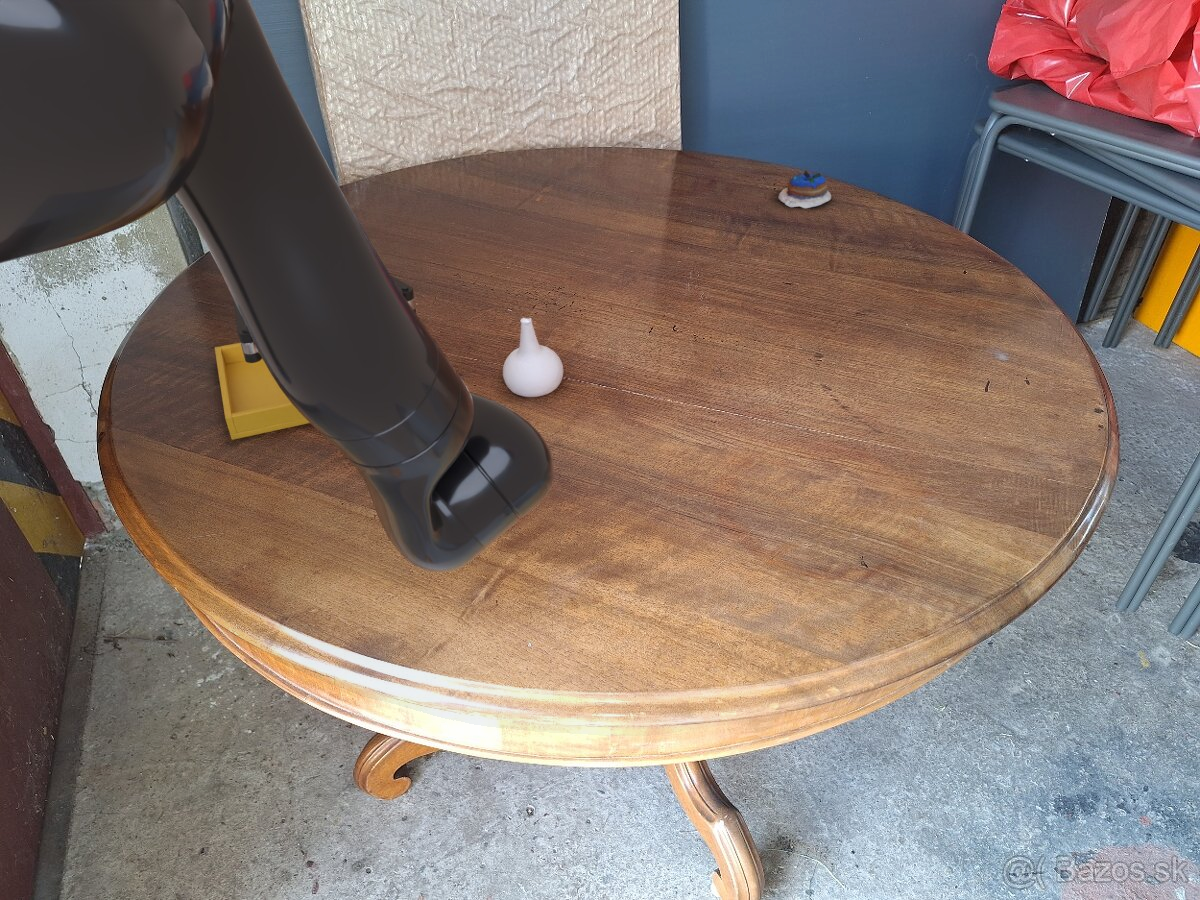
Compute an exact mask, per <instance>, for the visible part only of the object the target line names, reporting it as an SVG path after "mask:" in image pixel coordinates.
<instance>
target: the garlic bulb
mask: <svg viewBox="0 0 1200 900" xmlns="http://www.w3.org/2000/svg"><path fill="white" fill-rule="evenodd" d="M532 319H533V318H531V317H529V318H526V317H522V318H520V320H519V321H520V335H519V347H517V348H516V349H514V350H512V351H511V352H510V354H508V355H507V357H506V358H505V360H504V362H503V367H502V377H503V381H504V383H505V386H506V387H507V388H508V389H509V390H510V391H511V392H512V393H513V394H514V395H517V396H520V397H525V398H538V397H542V396H546V395H548V394H550V393H553V392H554V391H555V390H556V389H557V388H558V387H559V386H560V384H561V382H562V380H563V378H564V366H563V362H562V360H561V358H560V357H559V355H558V354H557V352H555V351H554V350H552V348H550V347H548V346H546V345H542V344H540V343H539V341H538V338H537V335H536V331H535V328H534V325H533V322H532V321H533V320H532Z"/></svg>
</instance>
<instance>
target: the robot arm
mask: <svg viewBox="0 0 1200 900" xmlns="http://www.w3.org/2000/svg"><path fill="white" fill-rule="evenodd" d="M289 87H290V86H289V85H288V83H287V81H286V79H285V76H284V74H283V73H282V70H281V68H280V65H279V63H278V62H277V59H276V57H275V54H274V52H273V50H272V48H271V45H270V43H269V40H268V38H267V36H266V34H265V32H264V30H263V27H262V25H261V23H260V21H259V18H258V17H257V13H256V11H255V8H254V7H253V5H252V2H251V0H0V264H3V263H7V262H10V261H15V260H18V259H22V258H27V257H30V256H35V255H37V254H42V253H47V252H49V251H53V250H57V249H61V248H64V247H67V246H71V245H73V244H78V243H80V242H84V241H87V240H90V239H94V238H97V237H100V236H103V235H105V234H109V233H110V232H114V231H116V230H119V229H122V228H124V227H126V226H129V225H130V224H133V223H135V222H137V221H139V220H140V219H142V218H144V217H145V216H147V215H149V214H151V213H152V212H154V211H156V209H158V208H160V207H162V206H163V205H165V204H166V203H167V202H168V201H170V199H172V198H173V197H174V196H175V197H176V198H177V199H178V201H179V202H180V204H181V205H182V207H183V209H184V210H185V212H186V213H187V215H188V217H189V218H190V220H191V222H192V224H193V225H194V226H195V228H196V229H197V231H198V233H199V234H200V236H201V238H202V240H203V242H204V243H205V245H206V247H207V249H208V251H209V253H210V254H211V257H212V258H213V260H214V262H215V263H216V266H217V268H218V270H219V271H220V274H221V276H222V278H223V280H224V282H225V284H226V286H227V289H228V291H229V293H230V295H231V297H232V300H233V301H234V302H233V309H234V310H233V311H234V316H235V324H236V331H237V336H238V339H239V343H241V347H242V350H243V354H244V358H245V361H246V362H247V363H256V362H258V361H260V360H261V359H263V361H264V362H265V364H266V366H267V368H268V369H269V371H270V373H271V374H272V376H273V378H274V379H275V381H276V382H277V384H278V386H279V387H280V389H281V390H282V391H283V393H284V394H285V395H286V397H287V398H288V399H289V401H290V402H291V403H292V404H293V405H294V407H295V408H296V409H297V410H298V411H299V412H300V413H301V414H302V415H303V416H304V417H305V418H306V419H307V420H308V421H309V422H310V423H309V424H310V425H311V426H313V428H314V429H316V430H317V431H318V433H319V434H320V435H322V436H323V437H324V438H325V439H326V440H327V441H328V442H329V443H330V444H331V445H332V446H333V447H334V448H336V450H338V452H339V453H341V454H342V456H344V457H345V458H346V459H347V460H348V462H350V463H351V465H352V466H353V467H354V468H355V469H356V470H357V472H358V473H359V475H360V476H361V478H362V479H363V481H364V484H365V485H366V487H367V490H368V492H369V496H370V499H371V501H372V504H373V507H374V509H375V512H376V515H377V518H378V520H379V522H380V524H381V526H382V528H383V529H384V532H385V533H386V536H387V537H388V539H389V541H390V542H391V544H392V545H393V547H394V548H395V549H396V550H397V552H398V553H399V554H400V555H401V556H402V557H403V558H404V559H405V560H406V561H407V562H408V563H410V564H411V565H413V566H415V567H416V568H419V569H420V570H423V571H427V572H431V573H450V572H453V571H457V570H458V569H461V568H463V567H465V566H466V565H467V564H469V563H471V562H472V561H473V560H474V559H476V557H478V556H479V555H480V554H481V553H483V552H484V551H485V550H486V549H487V548H488V547H490V546H491V545H492V544H493V543H495V542H496V541H497V540H498V539H499V538H501V537H502V536H503V535H504V534H505V533H506V532H507V531H509V530H510V529H511V528H513V527H514V526H515V525H516V524H518V522H520V520H521V519H523V518H524V517H526V516H527V515H528V514H530V512H532V511H533V510H534V509H535V508H536V507H538V506H539V505H540V504H541V503H542V502H543V501H544V500H545V498H546V497H547V496H548V495H549V493H550V491H551V489H552V488H553V485H554V484H553V483H554V481H555V463H554V462H555V461H554V458H553V454H552V452H551V449H550V446H549V445H548V443H547V442H546V440H545V438H544V437H543V435H542V434H541V433H540V432H539V430H538V429H536V427H535V426H533V424H531V423H530V422H529V421H528V420H527V419H526V418H524V417H523V416H521V414H519V413H517V412H516V411H514V410H513V409H511V408H509V407H508V406H505V405H503V404H501V403H500V402H497V401H496V400H493V399H491V398H488V397H486V396H484V395H480V394H478V393H475V392H472V391H470V390H469V389H468V386H467V384H466V383H465V381H464V379H463V377H462V376H461V375H460V373H459V372H458V370H457V369H456V367H455V366H454V365H453V363H452V362H451V361H450V359H449V358H448V357H447V355H446V353H445V352H444V351H443V349H442V348H441V346H440V345H439V343H438V342H437V341H436V339H435V338H434V336H433V335H432V334H431V332H430V331H429V330H428V328H427V327H426V325H425V324H424V323H423V321H422V320H421V319H420V317H419V316H418V314H417V308H416V301H415V293H414V288H413V287H412V286H411V285H409V284H407V283H405V282H404V281H402V280H401V279H398V278H397V277H396V276H394V275H392V274H390V272H389V270H388V269H387V267H386V265H385V264H384V262H383V261H382V259H381V258H380V256H379V254H378V253H377V251H376V249H375V247H374V245H373V244H372V242H371V240H370V239H369V237H368V236H367V234H366V232H365V230H364V228H363V226H362V225H361V223H360V221H359V220H358V218H357V216H356V214H355V213H354V211H353V209H352V207H351V205H350V203H349V201H348V200H347V198H346V196H345V194H344V192H343V191H342V189H341V187H340V185H339V183H338V181H337V180H336V178H335V175H334V174H333V172H332V170H331V168H330V166H329V164H328V161H327V160H326V158H325V156H324V154H323V152H322V150H321V148H320V147H319V145H318V142H317V140H316V139H315V136H314V135H313V133H312V131H311V129H310V127H309V125H308V123H307V121H306V119H305V117H304V115H303V113H302V111H301V109H300V107H299V105H298V103H297V101H296V99H295V97H294V95H293V94H292V93H293V92H291V89H290V88H289Z"/></svg>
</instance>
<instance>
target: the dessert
mask: <svg viewBox="0 0 1200 900" xmlns="http://www.w3.org/2000/svg"><path fill="white" fill-rule="evenodd" d="M828 188H829V187H828V180H827V179H826V177H824V176H823V175H822V174H821V173H820V172H818V173H816V174H815V173H812V174H811V173H809V172H808V171H807V170H805V171H804V173H802V174H796V175H794V176H793V177H792V178H790V179H789V180H788V183H787V187H785V188H784V189H782V190H781V191H780V192H779V193H778V200H779V201H780V202H782V203H783V204H784V205H785V206H787V207H789V208H796V207H800V208H802V209H810V208H814V207H818V206H821V205H823V204H826V203H827V202H829V201H831V199H832V194H831V192H830V191H829V190H828Z"/></svg>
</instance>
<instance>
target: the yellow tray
mask: <svg viewBox="0 0 1200 900" xmlns="http://www.w3.org/2000/svg"><path fill="white" fill-rule="evenodd" d="M214 353H215V360H216V367H217V372H218V380H219V385H220V386H219V387H220V393H221V400H222V405H223V406H222V407H223V412H224V419H225V422H226V425H227V428H228V433H229V436H230V438H231V440H232V441H233V440H238V439H242V438H243V439H244V438H247V437H248V438H249V437H252V436H257V435H261V434H266V433H270V432H276V431H279V430H284V429H289V428H293V427H298V426H303V425H307V424H311V423H310V422H309V421H308V420H307V419H306V418H305V417H304V416H303V415H302V414H301V413H300V412H299V411H298V410H297V409H296V408H295V407H294V405H293V404H292V403H291V402H290V401H289V399H288V398H287V397H286V395H285V394H284V393H283V391H282V390H281V389H280V387H279V386H278V384H277V382H276V381H275V379H274V378H273V376H272V374H271V373H270V371H269V369H268V368H267V366H266V364H265V362H264V361H263V359H261V360H260V361H258V362H256V363H247V362H246V361H245V358H244V354H243V350H242V347H241V343H240V342H237V343H232V344H226V345H221V346H215V347H214Z"/></svg>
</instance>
